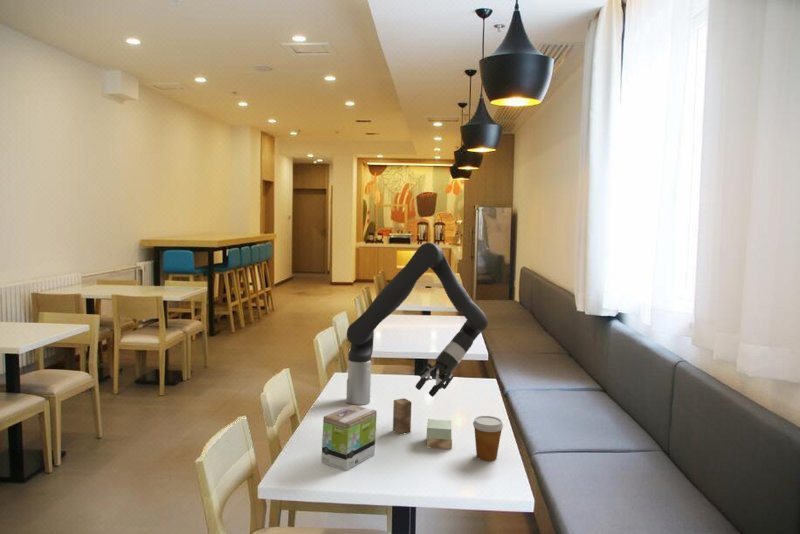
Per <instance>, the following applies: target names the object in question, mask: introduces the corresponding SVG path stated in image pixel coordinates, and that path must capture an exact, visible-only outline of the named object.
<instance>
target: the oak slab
mask: <svg viewBox="0 0 800 534" xmlns="http://www.w3.org/2000/svg"><path fill="white" fill-rule="evenodd" d="M452 434H453V433H452V432H451V440H448V439H433V438H426V439H427V443H426V444H427V447H430V448H429V449H442V448H449V449H448V450H453V435H452Z"/></svg>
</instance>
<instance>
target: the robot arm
mask: <svg viewBox="0 0 800 534" xmlns="http://www.w3.org/2000/svg"><path fill="white" fill-rule="evenodd" d="M429 269H430V270H431V271H433V273H434V274H435V275H436V277H437V278H438V280H439V281H440V283H441V284H442V288H443V289H444V292H445V294H446V295H447V298H448V299H449V301H450V302H451V304H452V305H453V307H454V308H455V310H456V311H457V313H459V314H462V315H463V316H464V318H465V319H466V320H465V322H464V323H463V325H462V326H461V327H460V329H459V331H458V332H457V333H456V334H455V335H454V336H453V338H452V339H451V341H449V342H448V343H447V345H446V346H445V347H444V348H443V349H442V351H441V352H440V353H439V354H438V356H437V357H436V358H435V361H434V362H435V363H434V364H433V365H432V364H431V363H427V364H426V365H425V366H424V368H423V369H422V370H421V371H420V372H419V373H418V375H419V378H420V379H419V380H418V381H417V383H416V384H415V386H414V387H415V388H416V389H417V390H419V391H420V390H421V389H422V388H423V387H424V385H425V384H426V382H428V381H433V380H435V384H433V386H432V388H431V389H430V390H429V391H428V395H429V396H431V397H435V395H436V394H437V393H438V392H439V390H441V389H443V390H446V389H447V387H448V386H449V385H450V384H451V381H452V380H453V378H454V374H453V372H454V371H455V370H456V368H457V366H458V365H459V364H460V362H462V360H463V358H464V357H465V355H466V354H467V352H468V351H469V350H470V349H471V347H472V345H473V344H474V341H475V340H476V339H477V338H478V336H479V335H480V334H481V333H482V332H483V331H484V330H486V328H487V327H488V325H489V321H488V318H487V315H486V314H485V313H484V311H483V310H482V309H481V308H480V307H479V306H478V305H477V304H476V303H475V301H473V299H472V298H471V295H469V293H468V292H467V290H466V288H465V287H464V286H463V284H462V283H461V282H460V280H459V279H458V277H457V276H456V274H455V273H454V270H453V269H452V268H451V265H450V264H449V262H448V259H447V257H446V254H445V253H444V251H443V249H442V246H440V245H438V244H437V243H434V242H425V243H422V244H421V245H420V246H419V247H418V248H417V249H416V251H415V252H414V253H413V255H412V257H410V259H409V261H408V262H406V264H405V265H404V266H403V268H402V269H400V270H399V271H398V273H396V275H395V276H394V277H392V279H390V281H388V283H387V284H386V285H385V286H384V287H383V288H382V289H381V290H380V292H379V293H378V294H377V296H376V297H375V298H374V299H373V301H372V302H371V303H370V305H369V306H368V308H367V309H366V310H365V311H364V312H363V313H361V315H360V316H359V317H358V318H357V319H356V320H354V321H352V323H350V324H349V326H348V327H347V330H346V338H347V340H348V341H349V342H350V349H349V351H348V357H347V359H348V360H347V362H348V363H347V378H346V379H347V380H346V403H347V404H350V405H356V406H359V405H366V404H369V403H370V402H371V385H372V384H371V383H372V381H371V378H372V355H373V352H374V351H373V349H374V332H375V329H376V328H377V327H378V326H379V325H380V323H382V322H383V321H384V320H385V319H386V318H388V316H390V315H391V314H393V313H394V312H395V311H396V310H397V309H398V308H399V307H400V306H401V305H402V304H403V302H404V301H405V300H406V299H407V298H408V297H409V296H410V294H411V293H412V291H413V289H414V288H415V285H416V283H417V282H418V280H419V279H420V278H421V277H422V276H423V275H424V274H425V273H426V272H427V271H429Z"/></svg>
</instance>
